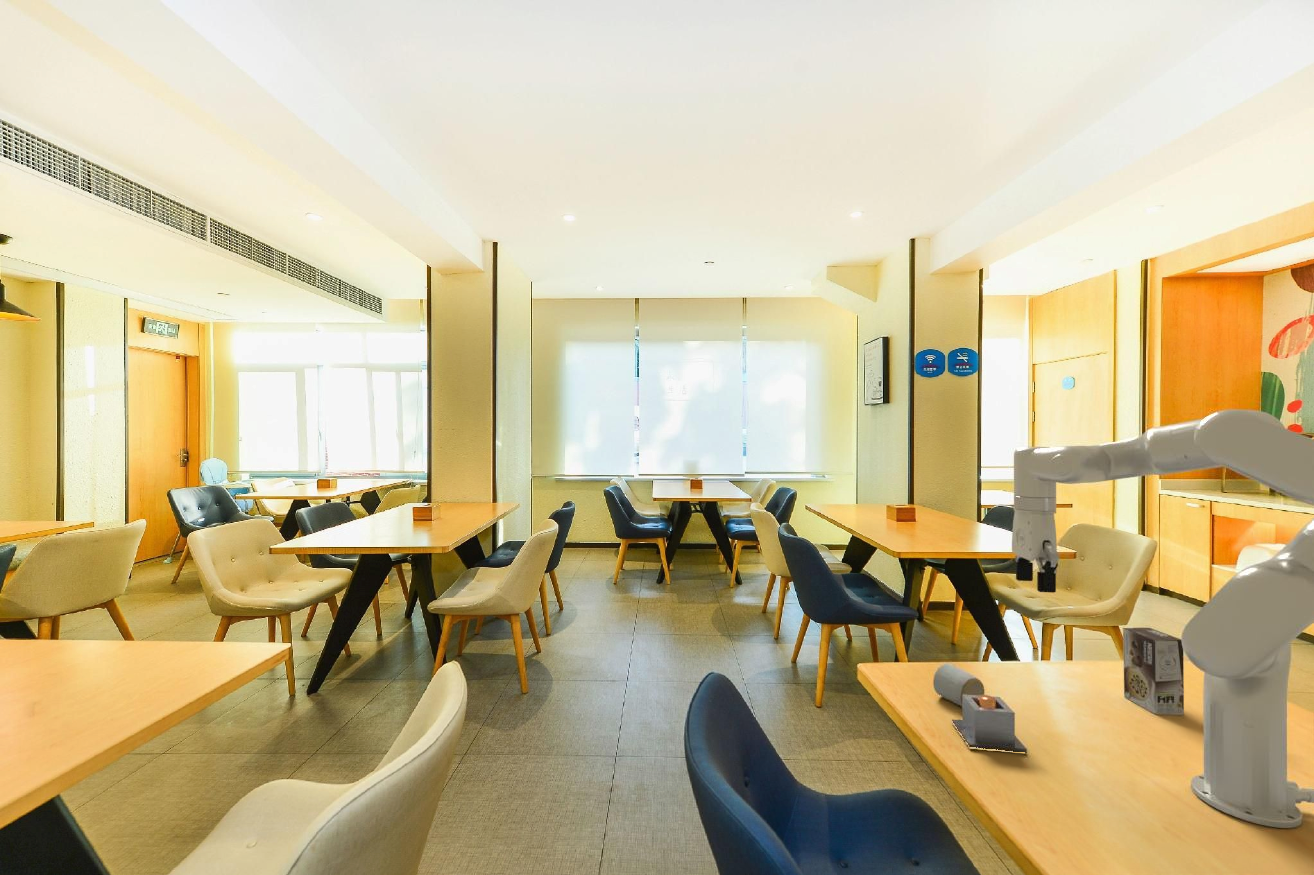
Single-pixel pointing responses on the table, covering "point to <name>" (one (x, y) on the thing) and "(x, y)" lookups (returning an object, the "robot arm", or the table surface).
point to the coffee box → (1153, 670)
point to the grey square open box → (988, 720)
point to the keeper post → (988, 702)
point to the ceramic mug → (956, 683)
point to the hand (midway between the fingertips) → (1035, 586)
